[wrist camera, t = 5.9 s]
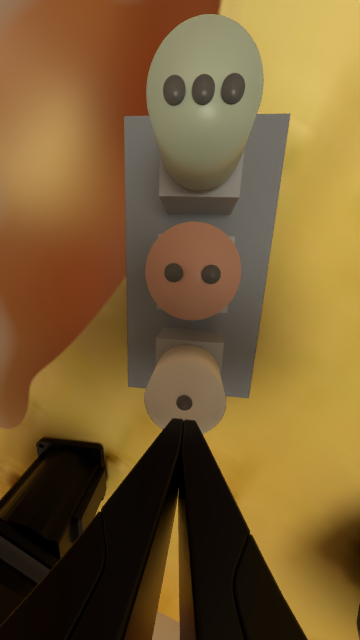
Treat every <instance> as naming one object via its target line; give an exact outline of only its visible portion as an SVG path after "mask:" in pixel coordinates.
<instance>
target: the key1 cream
mask: <svg viewBox="0 0 360 640" xmlns="http://www.w3.org/2000/svg"><path fill="white" fill-rule="evenodd" d="M144 400H145V407H146V410H147V412H148V414H149V416H150V418H151V419H152V420H153V421H154V423H155V424H156V425H158V426H159V427H160V428H161V429H164V428H165V427H166V425H167V424H168V423H169V422H170V420H171V419H172V418H179V419H183V420H185V419H188V420H195V421H196V422H197V424H198V426H199V428H200V430H201V432H202V434H204V433H206V432H208V431H210V430H211V429H213V428H214V427H215V426H216V425H217V424H218V423H219V422H220V420H221V419H222V417H223V415H224V412H225V408H226V396H225V392H224V388H223V384H222V379H221V375H220V371H219V367H218V364H217V362H216V360H215V359H214V358H213V356H212V355H211V354H210V353H209V352H207V351H206V350H204V349H203V348H200V347H198V346H194V345H179V346H175V347H173V348H171V349H169V350H168V351H166V352H165V353H164V354H163V355H162V356H161V358H160V359H159V361H158V363H157V365H156V367H155V370H154V372H153V374H152V376H151V378H150V380H149V382H148V385H147V387H146V390H145V396H144Z"/></svg>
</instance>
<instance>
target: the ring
mask: <svg viewBox="0 0 360 640" xmlns="http://www.w3.org/2000/svg"><path fill="white" fill-rule="evenodd" d="M357 629H358V635H359V639H360V605H359V611H358V617H357Z"/></svg>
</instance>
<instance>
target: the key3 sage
mask: <svg viewBox="0 0 360 640" xmlns="http://www.w3.org/2000/svg"><path fill="white" fill-rule="evenodd" d="M263 81H264V79H263V67H262V61H261V57H260V54H259V51H258V49H257V46H256V44H255V42H254V41H253V39H252V37H251V36H250V34H249V33H248V32H247V31H246V30H245V29H244V28H243V27H242V26H241V25H240V24H239V23H237V22H236V21H234V20H232V19H230V18H228V17H225V16H222V15H217V14H205V15H199V16H196V17H193V18H191V19H188V20H186V21H184V22H183V23H181V24H180V25H178V26H177V27H176V28H175V29H174V30H172V31H171V32H170V33H169V35H168V36H167V37H166V38H165V39H164V41H163V42H162V44H161V45H160V47H159V48H158V50H157V52H156V54H155V56H154V58H153V61H152V64H151V67H150V70H149V74H148V81H147V90H146V96H147V107H148V112H149V116H150V120H151V123H152V126H153V130H154V133H155V136H156V140H157V143H158V147H159V150H160V153H161V157H162V160H163V163H164V166H165V168H166V170H167V172H168V173H169V175H170V176H171V178H172V179H173V180H174V181H175V182H177V183H178V184H179V185H181V186H182V187H184V188H187V189H190V190H194V191H204V190H209V189H212V188H215V187H217V186H219V185H220V184H222V183H223V182H224V181H225V180H227V179H228V178H229V177H230V175H231V174H232V173H233V172H234V170H235V169H236V167H237V165H238V163H239V161H240V159H241V156H242V153H243V151H244V148H245V145H246V142H247V140H248V137H249V134H250V131H251V129H252V126H253V123H254V120H255V118H256V115H257V112H258V109H259V106H260V102H261V98H262V93H263Z"/></svg>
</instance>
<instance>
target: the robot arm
mask: <svg viewBox="0 0 360 640" xmlns="http://www.w3.org/2000/svg"><path fill="white" fill-rule="evenodd" d="M36 446H37V452H38V458H37V459H36V460H35V461H34V462H33V464H32V465H31V466H30V467H29V468H28V469H27V470H26V471H25V473H24V474H23V475H22V476H21V477H20V478H19V479H18V481H17V482H16V483H15V484H14V485H13V486H12V487H11V488H10V490H9V491H8V492H7V493H6V494H5V495H4V496H3V497H2V499H1V500H0V640H152V635H153V631H154V625H155V620H156V614H157V609H158V603H159V598H160V593H161V587H162V582H163V576H164V571H165V565H166V560H167V554H168V549H169V543H170V538H171V533H172V527H173V522H174V516H175V511H176V505H177V499H178V533H179V610H180V640H308V639H307V637H306V636H305V634H304V632H303V630H302V629H301V627H300V625H299V623H298V621H297V620H296V618H295V616H294V614H293V613H292V611H291V609H290V607H289V605H288V604H287V602H286V600H285V598H284V597H283V595H282V593H281V591H280V589H279V587H278V585H277V583H276V581H275V579H274V577H273V575H272V573H271V571H270V570H269V568H268V566H267V564H266V562H265V560H264V558H263V556H262V554H261V552H260V550H259V548H258V546H257V544H256V542H255V540H254V538H253V536H252V535H251V534H250V530H249V528H248V526H247V524H246V522H245V520H244V518H243V516H242V514H241V511H240V509H239V507H238V505H237V503H236V501H235V499H234V497H233V495H232V493H231V491H230V489H229V487H228V485H227V483H226V481H225V479H224V477H223V475H222V473H221V471H220V469H219V467H218V465H217V463H216V461H215V459H214V456H213V454H212V452H211V450H210V448H209V446H208V444H207V442H206V440H205V438H204V436H203V434H202V432H201V430H200V428H199V426H198V424H197V422H196V421H195V420H188V419H185V420H183V419H179V418H172V419H171V420H170V422H169V423H168V424H167V425H166V427H165V428H164V429H163V431H162V432H161V433H160V434H159V436H158V437H157V438H156V439H155V441H154V442H153V443H152V445H151V446H150V447H149V448H148V450H147V451H146V452H145V454H144V455H143V456H142V457H141V459H140V460H139V461H138V462H137V464H136V465H135V466H134V468H133V469H132V470H131V471H130V473H129V474H128V475H127V476H126V478H125V479H124V480H123V482H122V483H121V484H120V485H119V487H118V488H117V489H116V490H115V492H114V493H113V494H112V496H111V497H110V498H109V499H108V501H107V502H106V503H105V505H104V506H103V507H102V509H101V512H98V513H97V514H96V512H97V510H98V507H99V505H100V503H101V501H102V500H103V498H104V496H105V491H106V470H105V468H104V459H103V448H102V447H101V446H100V445H96V444H87V443H79V442H71V441H63V440H54V439H46V438H42V439H40V440H39V441H38V442H37V445H36ZM178 490H179V494H178ZM95 514H96V516H95Z"/></svg>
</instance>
